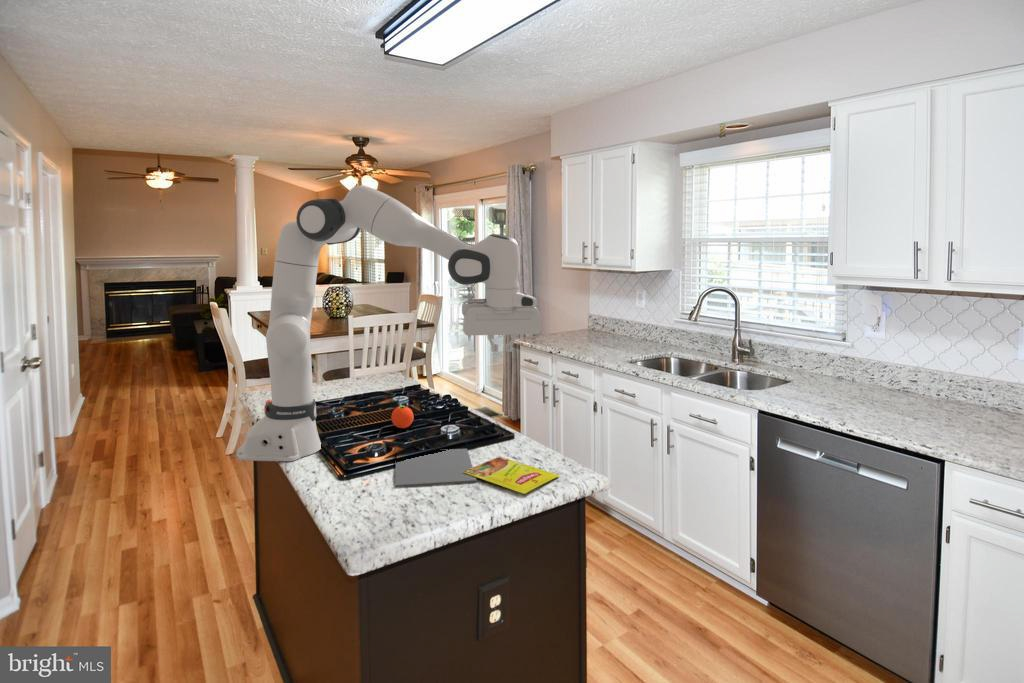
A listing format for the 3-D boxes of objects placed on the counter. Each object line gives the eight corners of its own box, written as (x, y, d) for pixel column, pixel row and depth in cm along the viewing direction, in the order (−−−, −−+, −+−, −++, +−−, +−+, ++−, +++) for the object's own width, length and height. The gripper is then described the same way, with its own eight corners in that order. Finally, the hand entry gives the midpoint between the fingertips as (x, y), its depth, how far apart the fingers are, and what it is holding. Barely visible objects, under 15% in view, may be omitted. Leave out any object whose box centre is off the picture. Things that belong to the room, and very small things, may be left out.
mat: (395, 487, 152) (395, 485, 152) (395, 454, 174) (395, 452, 174) (476, 482, 156) (476, 480, 156) (467, 450, 177) (467, 448, 177)
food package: (500, 454, 172) (560, 473, 160) (500, 458, 172) (560, 477, 160) (462, 470, 160) (524, 491, 148) (462, 474, 160) (524, 496, 148)
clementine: (389, 424, 199) (388, 403, 197) (410, 422, 201) (410, 401, 200) (393, 432, 191) (393, 410, 190) (415, 430, 194) (415, 408, 192)
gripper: (463, 300, 154) (463, 354, 157) (543, 299, 158) (542, 353, 161) (460, 297, 160) (460, 349, 163) (537, 296, 164) (536, 348, 167)
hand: (501, 351), depth 162 cm, fingers open, 2 cm apart
